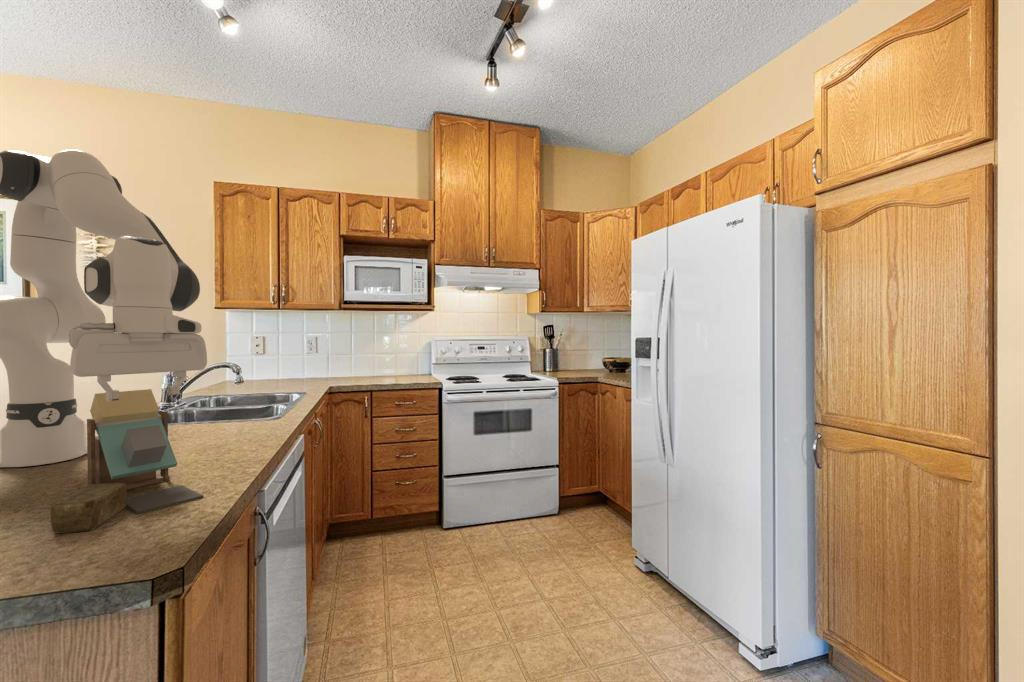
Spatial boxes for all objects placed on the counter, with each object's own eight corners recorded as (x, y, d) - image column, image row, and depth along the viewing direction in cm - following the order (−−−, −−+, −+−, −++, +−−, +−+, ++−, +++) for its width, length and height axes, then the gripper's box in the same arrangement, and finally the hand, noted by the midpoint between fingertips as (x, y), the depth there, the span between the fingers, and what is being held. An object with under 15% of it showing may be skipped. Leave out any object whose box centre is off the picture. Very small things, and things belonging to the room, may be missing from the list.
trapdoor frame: (77, 490, 92) (76, 416, 92) (157, 474, 103) (156, 407, 102) (89, 498, 88) (87, 420, 87) (170, 480, 98) (169, 411, 98)
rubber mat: (118, 501, 86) (118, 499, 86) (181, 487, 94) (181, 485, 94) (137, 514, 80) (137, 511, 80) (203, 497, 88) (203, 495, 88)
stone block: (47, 537, 71) (46, 504, 71) (89, 510, 82) (89, 482, 82) (93, 532, 73) (93, 500, 73) (129, 507, 84) (129, 479, 84)
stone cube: (127, 467, 87) (134, 450, 85) (121, 446, 89) (127, 429, 87) (160, 461, 91) (167, 445, 89) (152, 441, 93) (159, 424, 91)
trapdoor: (85, 411, 93) (90, 394, 91) (149, 404, 101) (155, 388, 99) (107, 486, 85) (113, 469, 83) (174, 472, 94) (181, 456, 92)
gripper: (74, 322, 78) (75, 406, 78) (210, 324, 95) (211, 393, 95) (63, 322, 82) (64, 402, 82) (196, 324, 98) (197, 390, 98)
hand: (144, 397), depth 88 cm, fingers open, 8 cm apart
